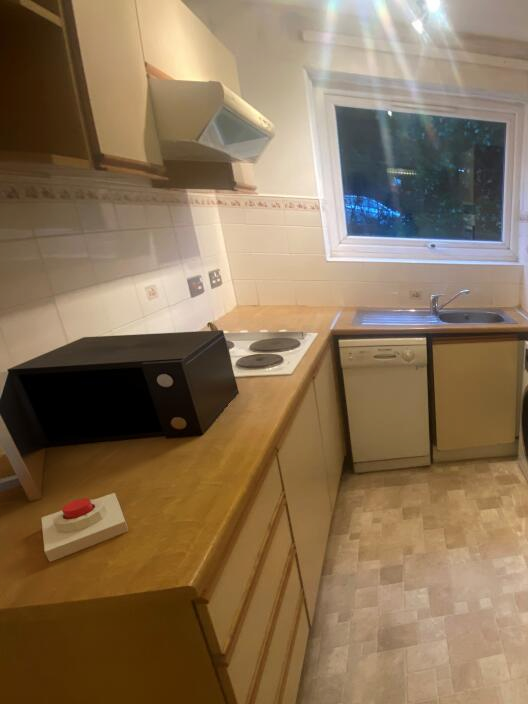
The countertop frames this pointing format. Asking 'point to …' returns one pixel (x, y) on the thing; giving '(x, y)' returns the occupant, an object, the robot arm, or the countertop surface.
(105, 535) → the button block
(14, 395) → the microwave door
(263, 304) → the countertop surface
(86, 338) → the microwave
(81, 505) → the button
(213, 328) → the vegetable
